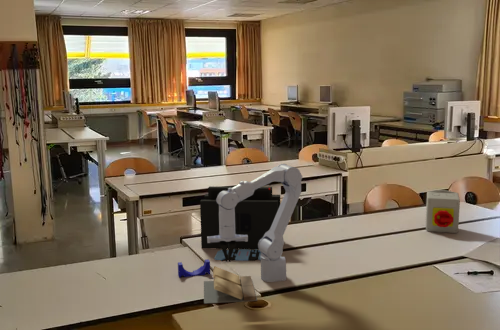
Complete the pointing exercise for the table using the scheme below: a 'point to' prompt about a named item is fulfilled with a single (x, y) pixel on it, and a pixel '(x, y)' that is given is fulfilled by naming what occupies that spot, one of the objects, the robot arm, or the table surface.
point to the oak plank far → (226, 275)
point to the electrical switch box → (442, 211)
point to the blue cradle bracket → (200, 271)
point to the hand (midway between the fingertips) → (228, 260)
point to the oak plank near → (228, 287)
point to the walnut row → (247, 288)
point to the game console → (240, 221)
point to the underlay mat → (218, 294)
